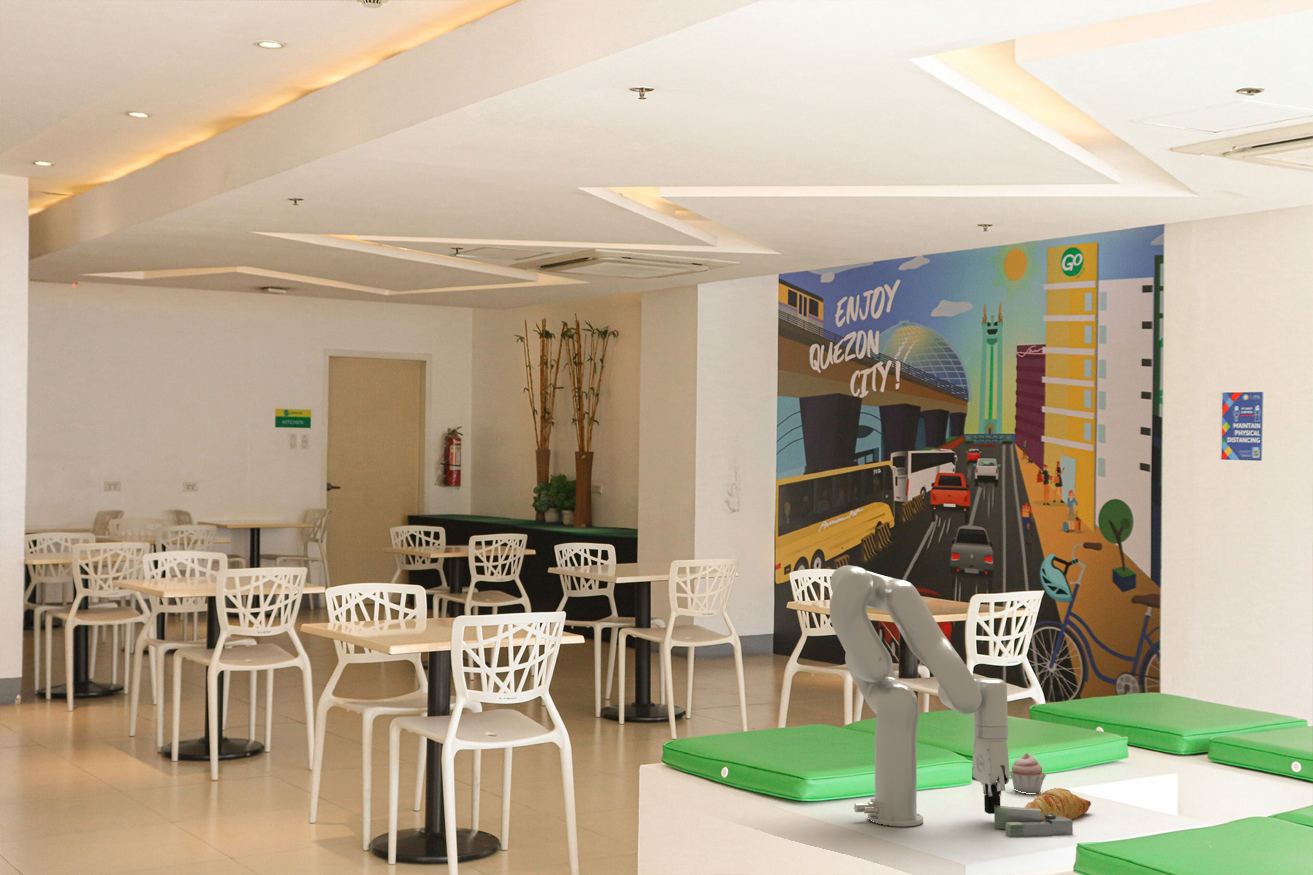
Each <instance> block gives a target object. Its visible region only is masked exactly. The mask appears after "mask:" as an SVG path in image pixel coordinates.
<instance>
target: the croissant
mask: <svg viewBox="0 0 1313 875" xmlns="http://www.w3.org/2000/svg"><path fill="white" fill-rule="evenodd" d="M1091 805H1092V803H1091V800H1087V799H1085V798H1083V797H1079V796H1077V795H1076V794H1073V793H1072V792H1071V791H1070V790H1069V789H1065V788H1062V787H1061V788H1060V787H1055V788H1052V789H1049V790H1048V789H1047V790H1045V791H1043V792H1042V793H1041V794H1040V795H1038V796H1036V797H1035V798H1034V800H1033V801H1030V802H1028V803H1026V805H1025V806H1024V808H1037V809H1041V821H1043V817H1045V814H1054V815H1056V816H1064V817H1066V818H1068V819H1071V820H1075V819H1077V818H1079V817H1081V816H1082V815H1084V814H1086V813H1087V812H1088V811H1089V809H1090V807H1091Z"/></svg>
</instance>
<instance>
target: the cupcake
mask: <svg viewBox="0 0 1313 875" xmlns="http://www.w3.org/2000/svg"><path fill="white" fill-rule="evenodd" d="M1046 776H1047V774H1045V772H1043V766H1042V765H1041V764H1040V763H1039V762H1038V760H1037V759H1036V758H1035V756H1033V755H1032V754H1029V753H1028V752H1026V753H1025V754H1023V755H1022V757H1021V758H1017V759H1015V761H1014V763H1013V764H1012V766H1011V771H1010V770H1009V777H1010V778H1011V780H1012V784H1013V785H1012V786H1013V790H1014V789H1016V790H1018V791H1021V792H1026V793H1038V794H1040V793H1041V791H1042V790H1041V789H1042V787H1043V786H1042V785H1043V783H1044V781H1045V779H1046ZM1039 792H1040V793H1039Z"/></svg>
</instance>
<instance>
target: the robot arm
mask: <svg viewBox="0 0 1313 875" xmlns="http://www.w3.org/2000/svg"><path fill="white" fill-rule="evenodd" d="M829 581H830V582H829V583H830V588H831V591H832V595H831V597H830V598H831V599H830V603H829V618H830V623H831V625H832V628H833V631H834V633H835V635H836V636H837V638H838V640H839V642H840V645H841V646H842V647H843V650H844V651H845V656H844V660H845V665H846V668H847V670H848V673H849V674H850V677H851V678H852V680H853V681H854V683H855V684H856V686H857V688H858V690H859V692H860V694H861V695H862V697H863V699H864V700H865V703H866V704H867V705H868V707H869V708H870V710H871V711H872V712H873V714H875V715H876V721H875V722H876V723H875V724H876V725H875V730H874V731H875V733H874V798H870V801H868V802H867V803H855V804H853V805H854V806H853V810H854V812H855V813H863V814H867V819H868V818H869V819H870V820H872V821H874V822H877V823H878V824H877V823H876V824H877V825H881V824H883V825H882V826H887V825H889V827H902V828H903V827H904V828H905V827H914V826H919V825H921V824H923V823H924V817H923V815H921V814H919V813H917V788H918V787H917V782H918V781H917V779H918V778H917V776H918V775H917V772H918V771H917V763H918V762H917V760H918V757H917V747H918V746H917V745H918V744H917V737H918V724H919V718H920V717H919V715H920V704H919V699H918V697H917V695H916V693H915V691H914V690H913V689H912V688H911V687H910V686H908V685H907V684H905V683H904V682H901V681H900V679H899V678H898V676H897V674H896V672H895V671H894V669H893V659H892V656H891V653H890V652H889V650H888V648H887V647H886V646H885V644H884V643H883V641H882V639H881V637H880V636H879V634H878V632H877V631H876V629H875V627H874V625H873V623H872V621H871V619H870V618H869V616H868V611H867V608H869V609H871V610H876V611H880V612H883V613H887V614H888V615H889V616H890V618H891V619H892V621H893V623H894V625H895V626H896V628H897V630H898V632H900V635H901V637H902V638H903V640H904V642H905V643H906V645H907V647H908V649H909V650H910V651H911V653H913V655H914V656H915V657H916V658H917V659H918V661H920V662H921V663H922V664H923V665H924V666H925V667H926V668H927V669H928V670H929V672H930V673H931V674H932V676H933V677H934V678H935V679H936V681H937V682H938V684H939V686H938V688H937V695H938V698H939V700H940V702H941V703H942V704H943V706H945V707H946V708H949V709H951V710H952V711H955V712H956V713H958V714H961V715H970V714H973V715H974V717H973V719H974V722H973V723H974V730H973V732H974V740H973V746H972V777H973V778H974V779H975V780H977V781H979V783H980V784H981V785H982V791H983V794H984V796H983V797H984V800H983V802H984V812H985V814H988V815H993V814H994V805H996V806H1001V797H1002V792H1004V791H1006V785H1008V783H1009V782H1010V774H1009V771H1010V761H1009V760H1010V759H1009V749H1008V748H1009V747H1008V742H1007V741H1008V740H1009V736H1008V735H1009V732H1008V731H1009V729H1008V726H1009V724H1008V723H1009V722H1008V720H1009V719H1008V718H1009V716H1008V686H1007V683H1006V681H1004V680H1003V679H1001V678H995V677H994V678H992V677H985V678H984V677H981V678H974V676H973V675H972V673H971V672H970V670H969V668H968V667H967V665H966V663H965V662H964V660H963V659H962V658H961V656H960V655H959V653H958V652H957V651H956V649H955V648H954V646H953V645H952V643H951V642H950V641H949V639H948V638H947V636H946V635H945V633H943V630H942V629H941V627H940V626H939V624H938V623H937V620H935V618H934V617H933V614H932V613H931V611H930V610H929V607H928V606H927V604H926V602H925V601H924V599H923V597H922V596H921V594H920V593H919V591H918V589H917V588H916V587H915V586H914V585H913V584H912V583H911V582H909V581H907V580H903V579H899V578H894V577H891V576H885V575H882V574H878V573H875V572H872V571H869V570H866V569H865V568H863V567H860V566H857V565H849V564H848V565H842V566H840V567H838V568H836V569H835V570H834V571H833V573H832V574H831V577H830V580H829ZM869 819H868V820H869ZM874 822H873V823H874Z"/></svg>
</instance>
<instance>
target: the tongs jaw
mask: <svg viewBox="0 0 1313 875" xmlns="http://www.w3.org/2000/svg"><path fill="white" fill-rule="evenodd" d="M993 819H994V828H995V829H999V830H1000V829H1002V830H1006V822H1019V823H1020V822H1042V820H1041V809H1037V808H1025V807H1018V806H1007V805H1000V806H996V805H994V818H993Z"/></svg>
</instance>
